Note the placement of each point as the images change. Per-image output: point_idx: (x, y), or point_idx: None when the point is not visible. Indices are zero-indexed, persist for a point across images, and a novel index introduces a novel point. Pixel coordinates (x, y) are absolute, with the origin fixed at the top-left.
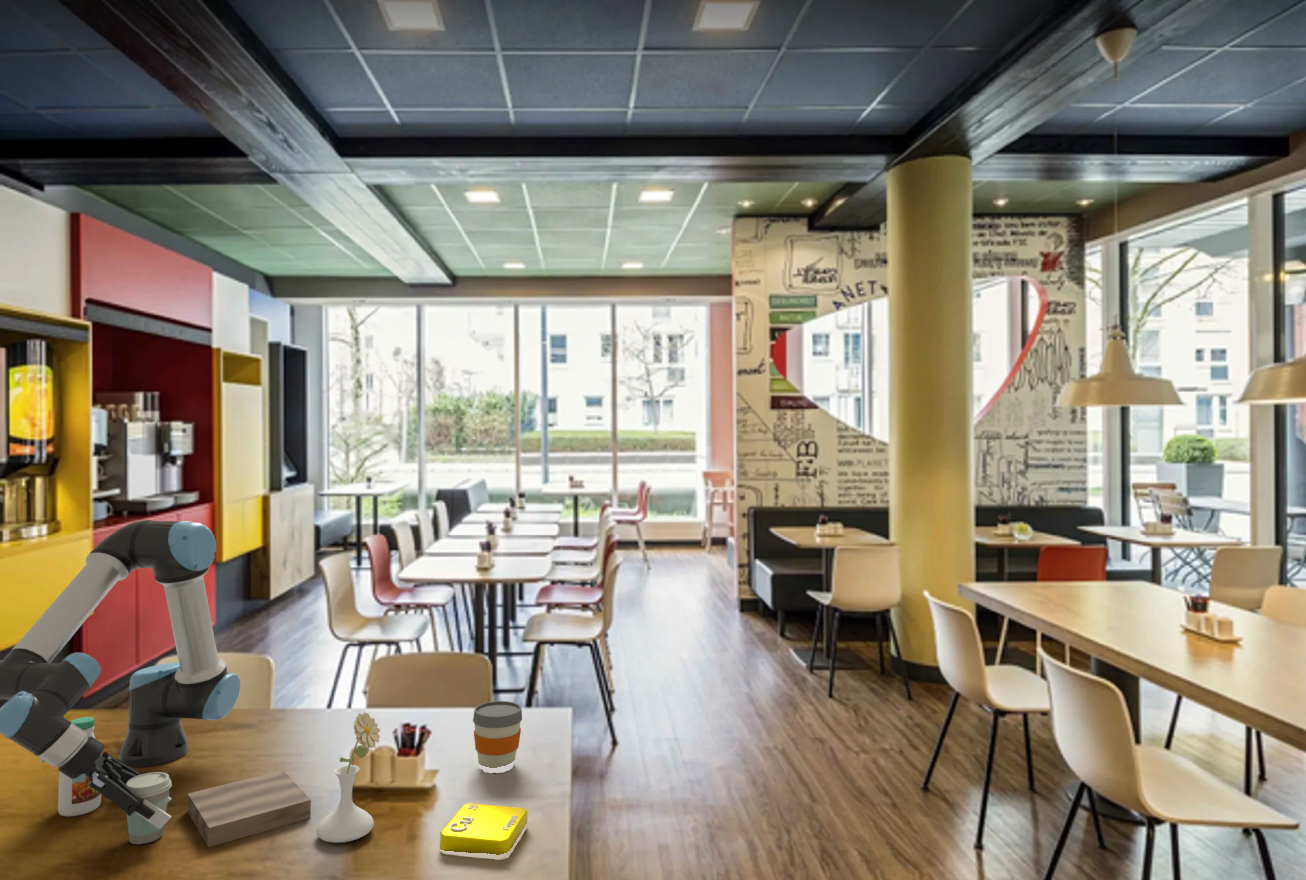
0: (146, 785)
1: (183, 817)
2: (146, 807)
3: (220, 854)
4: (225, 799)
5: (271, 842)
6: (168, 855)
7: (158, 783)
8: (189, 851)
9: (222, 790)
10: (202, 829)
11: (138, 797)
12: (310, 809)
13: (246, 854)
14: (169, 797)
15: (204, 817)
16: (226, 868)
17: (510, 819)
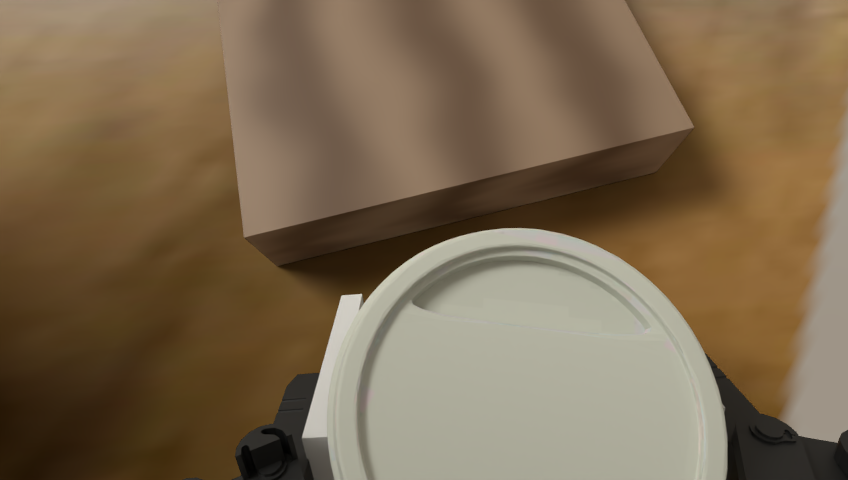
0: (654, 406)
1: (330, 277)
2: (726, 393)
3: (725, 134)
4: (405, 86)
5: (676, 4)
6: (683, 305)
7: (662, 296)
8: (669, 233)
9: (294, 102)
10: (557, 184)
11: (773, 462)
12: None
13: (746, 63)
14: (346, 301)
15: (574, 151)
16: (840, 112)
17: None
